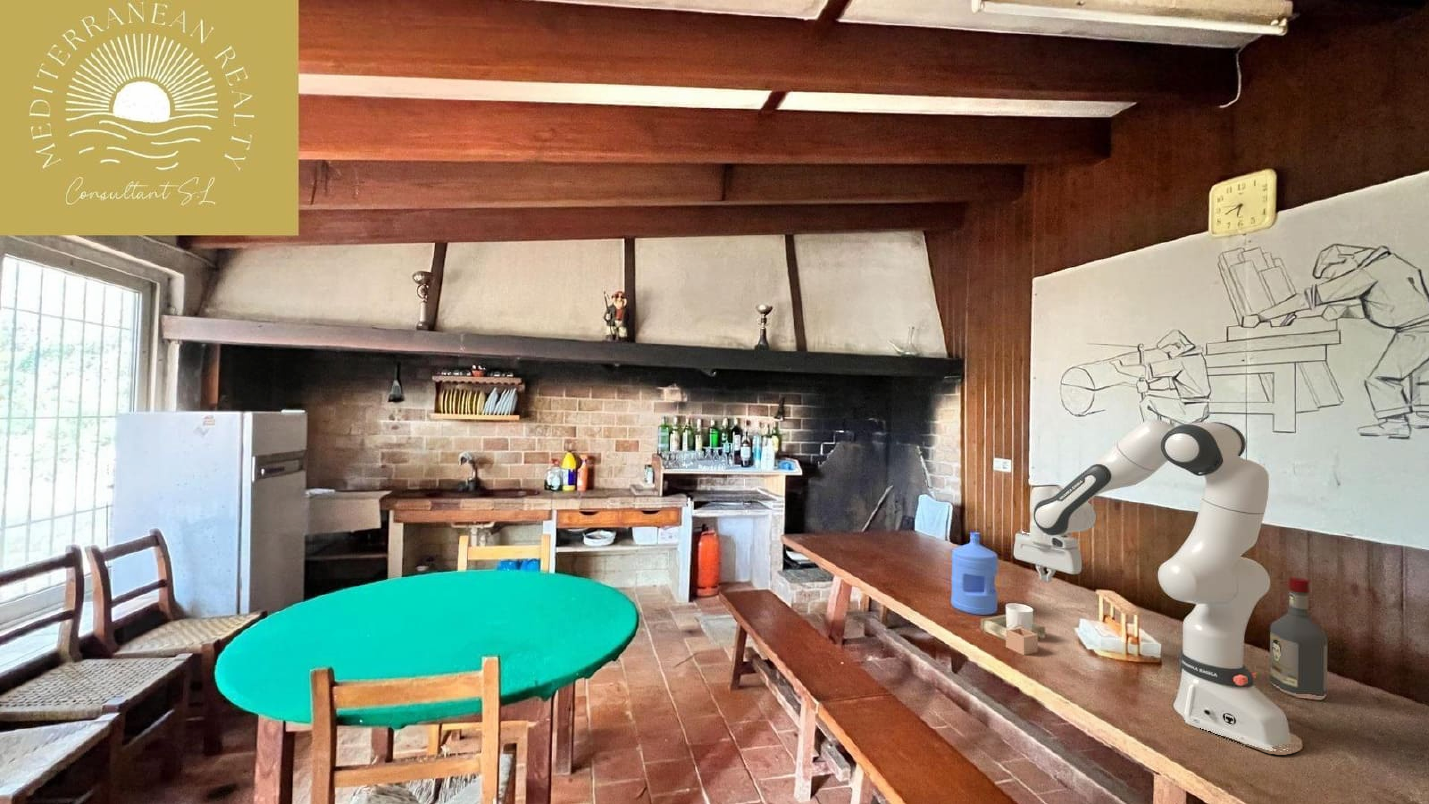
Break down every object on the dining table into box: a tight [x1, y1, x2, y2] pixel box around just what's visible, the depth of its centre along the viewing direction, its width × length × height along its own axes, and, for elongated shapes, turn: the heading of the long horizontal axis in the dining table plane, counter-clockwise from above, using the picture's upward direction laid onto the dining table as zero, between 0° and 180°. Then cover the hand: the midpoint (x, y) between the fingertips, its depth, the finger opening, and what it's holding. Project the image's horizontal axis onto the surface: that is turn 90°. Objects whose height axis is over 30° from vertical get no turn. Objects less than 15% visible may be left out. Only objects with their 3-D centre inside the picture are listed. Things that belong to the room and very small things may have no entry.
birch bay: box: [980, 613, 1046, 641], centre depth 184 cm, size 13×14×4 cm
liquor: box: [1269, 576, 1328, 696], centre depth 149 cm, size 9×9×30 cm
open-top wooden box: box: [1005, 627, 1039, 656], centre depth 171 cm, size 6×6×6 cm
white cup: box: [1005, 602, 1034, 632], centre depth 181 cm, size 8×8×10 cm
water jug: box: [950, 531, 999, 616], centre depth 209 cm, size 16×16×28 cm
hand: (1045, 580), depth 174 cm, fingers closed
